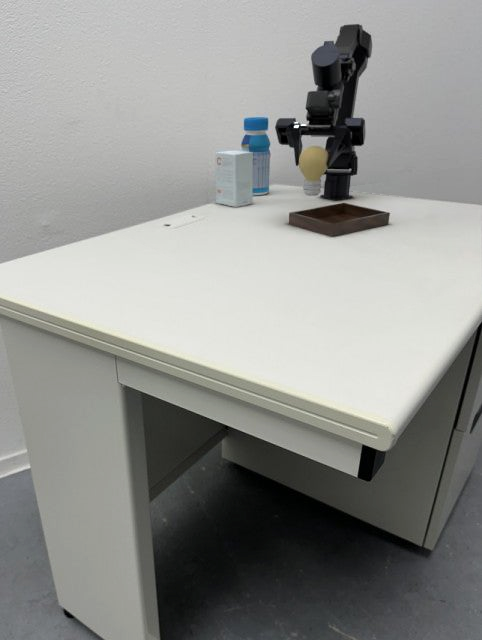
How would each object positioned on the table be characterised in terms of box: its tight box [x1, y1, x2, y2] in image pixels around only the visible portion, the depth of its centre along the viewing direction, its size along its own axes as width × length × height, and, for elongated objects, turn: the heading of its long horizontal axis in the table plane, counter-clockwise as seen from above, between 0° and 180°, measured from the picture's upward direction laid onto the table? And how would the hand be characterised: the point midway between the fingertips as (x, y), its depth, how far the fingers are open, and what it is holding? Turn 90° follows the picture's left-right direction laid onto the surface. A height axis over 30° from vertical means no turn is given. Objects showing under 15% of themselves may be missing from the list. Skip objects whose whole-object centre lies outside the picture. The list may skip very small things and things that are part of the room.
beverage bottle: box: [240, 116, 272, 196], centre depth 154 cm, size 8×8×20 cm
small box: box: [215, 149, 254, 208], centre depth 144 cm, size 8×6×13 cm
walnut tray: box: [287, 202, 391, 238], centre depth 123 cm, size 17×14×3 cm
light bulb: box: [298, 145, 329, 197], centre depth 118 cm, size 6×6×10 cm
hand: (312, 165), depth 116 cm, fingers closed on light bulb, 6 cm apart
